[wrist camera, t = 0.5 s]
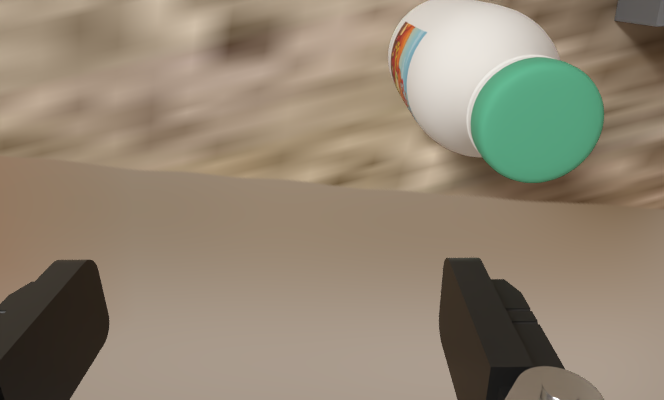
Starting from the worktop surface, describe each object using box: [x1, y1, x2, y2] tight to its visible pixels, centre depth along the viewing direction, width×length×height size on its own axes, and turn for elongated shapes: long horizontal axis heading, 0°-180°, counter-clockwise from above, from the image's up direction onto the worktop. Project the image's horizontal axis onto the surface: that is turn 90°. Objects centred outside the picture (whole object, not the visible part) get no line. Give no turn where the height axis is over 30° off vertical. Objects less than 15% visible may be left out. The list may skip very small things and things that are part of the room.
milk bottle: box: [388, 0, 604, 183], centre depth 28 cm, size 8×8×20 cm
